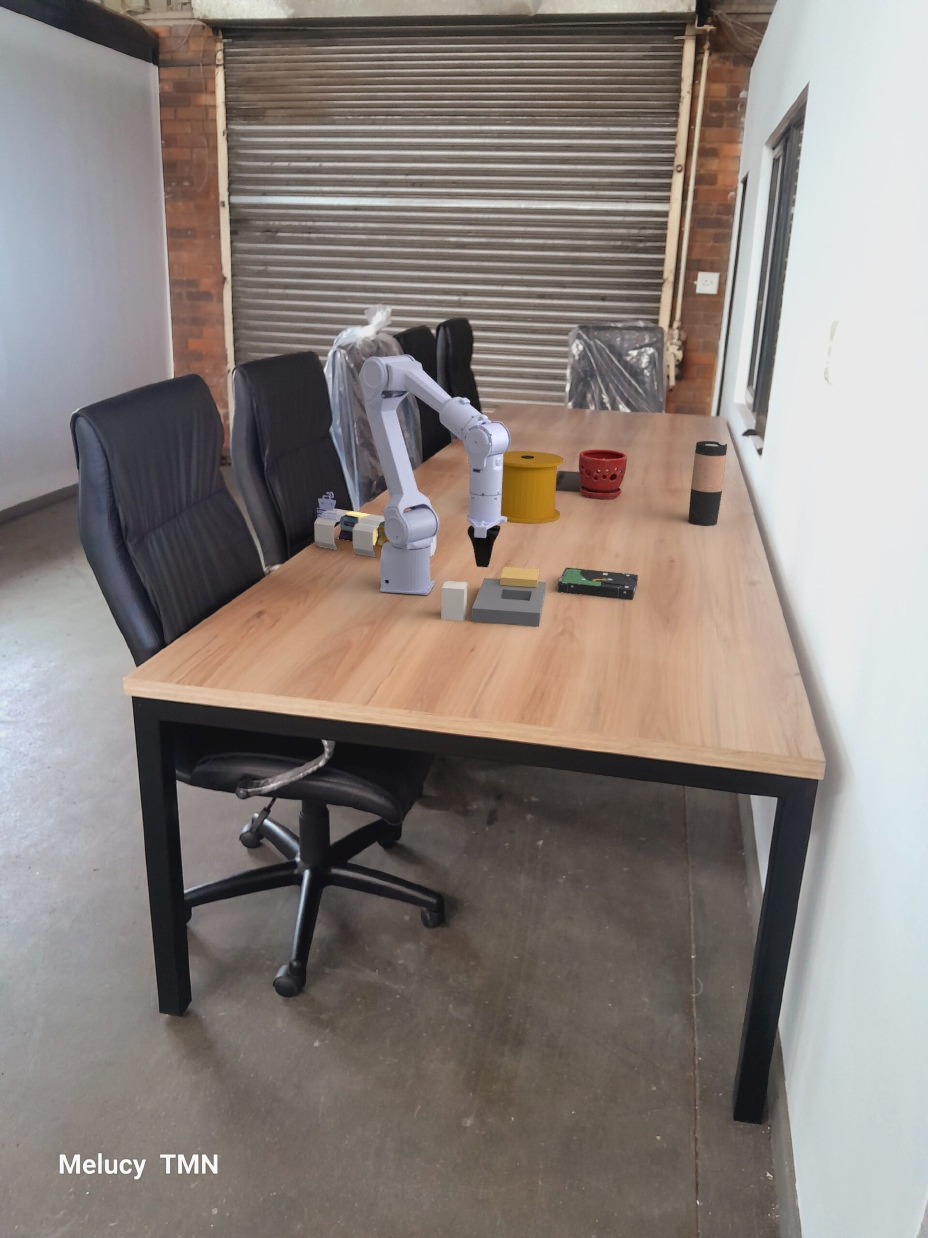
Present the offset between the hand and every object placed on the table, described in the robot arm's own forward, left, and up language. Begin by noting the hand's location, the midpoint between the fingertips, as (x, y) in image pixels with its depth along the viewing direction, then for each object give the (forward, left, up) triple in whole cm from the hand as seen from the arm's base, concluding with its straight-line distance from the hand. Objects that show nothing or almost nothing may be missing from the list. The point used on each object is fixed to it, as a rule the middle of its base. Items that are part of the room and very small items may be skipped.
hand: (482, 566), depth 173 cm
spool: (+2, +74, -9) cm, 75 cm away
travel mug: (+47, +77, -9) cm, 91 cm away
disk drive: (+21, +17, -9) cm, 29 cm away
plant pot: (+21, +101, -9) cm, 104 cm away
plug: (-4, -5, -8) cm, 11 cm away
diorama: (-28, +33, -9) cm, 44 cm away
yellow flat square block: (+6, +11, -6) cm, 14 cm away
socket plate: (+5, +2, -8) cm, 10 cm away
